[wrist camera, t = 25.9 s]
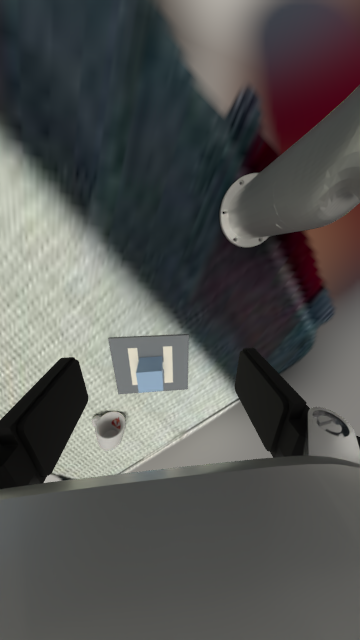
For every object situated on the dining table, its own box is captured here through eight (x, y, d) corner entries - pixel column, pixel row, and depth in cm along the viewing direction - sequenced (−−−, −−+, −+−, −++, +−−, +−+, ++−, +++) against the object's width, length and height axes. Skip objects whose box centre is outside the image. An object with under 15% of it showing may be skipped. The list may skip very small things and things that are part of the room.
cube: (162, 356, 44) (162, 370, 39) (163, 374, 46) (163, 390, 41) (139, 357, 44) (135, 372, 38) (141, 375, 46) (138, 392, 40)
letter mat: (188, 334, 43) (188, 335, 43) (187, 387, 50) (187, 389, 49) (108, 337, 41) (108, 338, 41) (118, 392, 48) (118, 394, 48)
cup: (82, 440, 49) (80, 423, 45) (103, 417, 56) (103, 401, 52) (110, 461, 46) (111, 445, 42) (129, 434, 53) (131, 419, 49)
